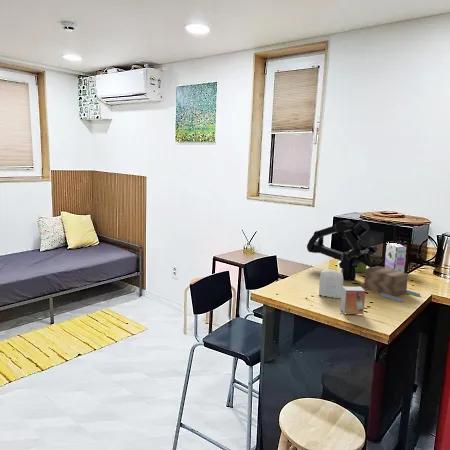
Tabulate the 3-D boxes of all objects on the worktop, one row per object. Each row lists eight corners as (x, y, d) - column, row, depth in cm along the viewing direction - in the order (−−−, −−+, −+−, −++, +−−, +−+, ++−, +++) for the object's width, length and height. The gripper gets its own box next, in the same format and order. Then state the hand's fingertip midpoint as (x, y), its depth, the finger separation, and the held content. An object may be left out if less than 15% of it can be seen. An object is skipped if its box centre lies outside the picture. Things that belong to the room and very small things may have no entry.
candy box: (404, 276, 212) (407, 247, 209) (393, 276, 212) (396, 246, 209) (394, 269, 225) (396, 241, 223) (383, 269, 225) (386, 241, 223)
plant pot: (366, 275, 213) (368, 255, 211) (345, 271, 219) (346, 252, 217) (372, 270, 223) (373, 251, 221) (351, 266, 229) (352, 248, 227)
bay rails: (380, 295, 180) (380, 293, 180) (400, 289, 189) (400, 287, 189) (399, 302, 172) (400, 299, 172) (419, 295, 181) (420, 293, 181)
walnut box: (364, 288, 191) (365, 268, 189) (376, 284, 197) (378, 265, 195) (393, 298, 178) (395, 277, 176) (406, 294, 184) (408, 273, 182)
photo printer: (342, 296, 178) (343, 270, 176) (341, 299, 174) (343, 272, 172) (319, 293, 181) (320, 268, 179) (318, 296, 177) (320, 270, 175)
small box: (343, 315, 156) (345, 290, 155) (339, 310, 162) (341, 285, 160) (363, 315, 156) (365, 290, 155) (359, 310, 162) (360, 286, 160)
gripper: (352, 233, 189) (370, 261, 182) (376, 230, 199) (394, 256, 192) (338, 246, 197) (355, 273, 190) (362, 242, 207) (378, 267, 200)
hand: (371, 267), depth 193 cm, fingers closed
